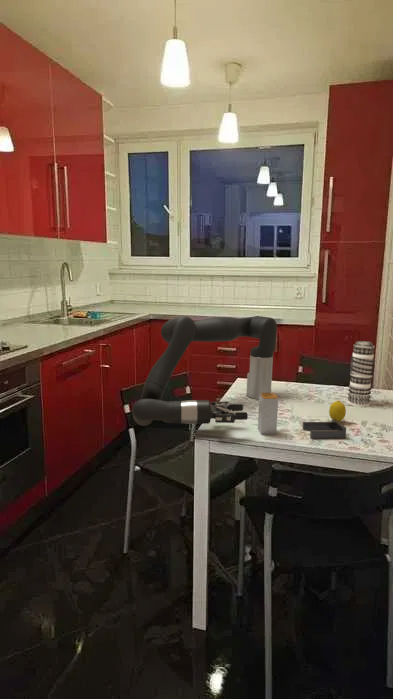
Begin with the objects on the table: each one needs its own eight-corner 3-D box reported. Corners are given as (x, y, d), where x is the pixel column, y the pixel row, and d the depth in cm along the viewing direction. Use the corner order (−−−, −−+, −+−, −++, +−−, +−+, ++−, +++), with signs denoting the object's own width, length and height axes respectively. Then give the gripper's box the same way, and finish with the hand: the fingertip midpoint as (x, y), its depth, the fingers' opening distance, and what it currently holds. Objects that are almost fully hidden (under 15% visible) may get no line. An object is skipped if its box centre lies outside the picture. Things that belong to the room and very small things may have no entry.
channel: (311, 438, 144) (311, 428, 143) (302, 428, 152) (303, 418, 152) (345, 438, 145) (346, 428, 144) (334, 428, 153) (335, 418, 153)
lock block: (261, 434, 146) (263, 396, 144) (257, 429, 151) (259, 392, 149) (276, 434, 147) (278, 396, 145) (272, 428, 152) (274, 392, 149)
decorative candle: (341, 402, 183) (346, 341, 179) (355, 398, 189) (360, 339, 184) (361, 408, 176) (367, 344, 172) (375, 404, 182) (381, 342, 177)
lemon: (342, 426, 156) (344, 403, 154) (326, 423, 159) (328, 400, 157) (346, 421, 160) (348, 400, 159) (330, 418, 163) (332, 397, 162)
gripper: (197, 407, 138) (249, 407, 140) (193, 394, 152) (241, 394, 154) (196, 431, 140) (248, 430, 141) (193, 415, 154) (240, 415, 155)
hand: (245, 411), depth 147 cm, fingers open, 8 cm apart
